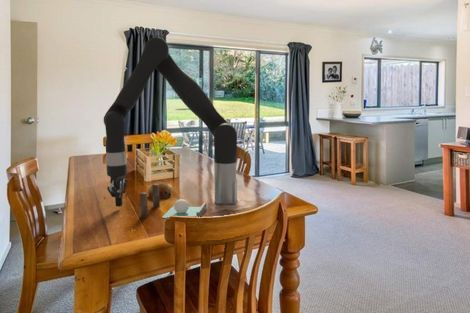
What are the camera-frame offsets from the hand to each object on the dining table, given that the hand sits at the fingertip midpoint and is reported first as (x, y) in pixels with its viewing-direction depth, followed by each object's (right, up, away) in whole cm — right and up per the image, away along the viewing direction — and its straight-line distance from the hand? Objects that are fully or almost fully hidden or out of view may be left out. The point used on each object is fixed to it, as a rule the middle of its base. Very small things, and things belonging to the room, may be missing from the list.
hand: (119, 205), depth 140 cm
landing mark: (+27, -2, -4) cm, 27 cm away
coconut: (+12, +2, +19) cm, 23 cm away
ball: (+25, 0, -5) cm, 26 cm away
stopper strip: (+33, -2, -5) cm, 34 cm away
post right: (+14, -1, +5) cm, 15 cm away
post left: (+12, -3, -8) cm, 15 cm away
